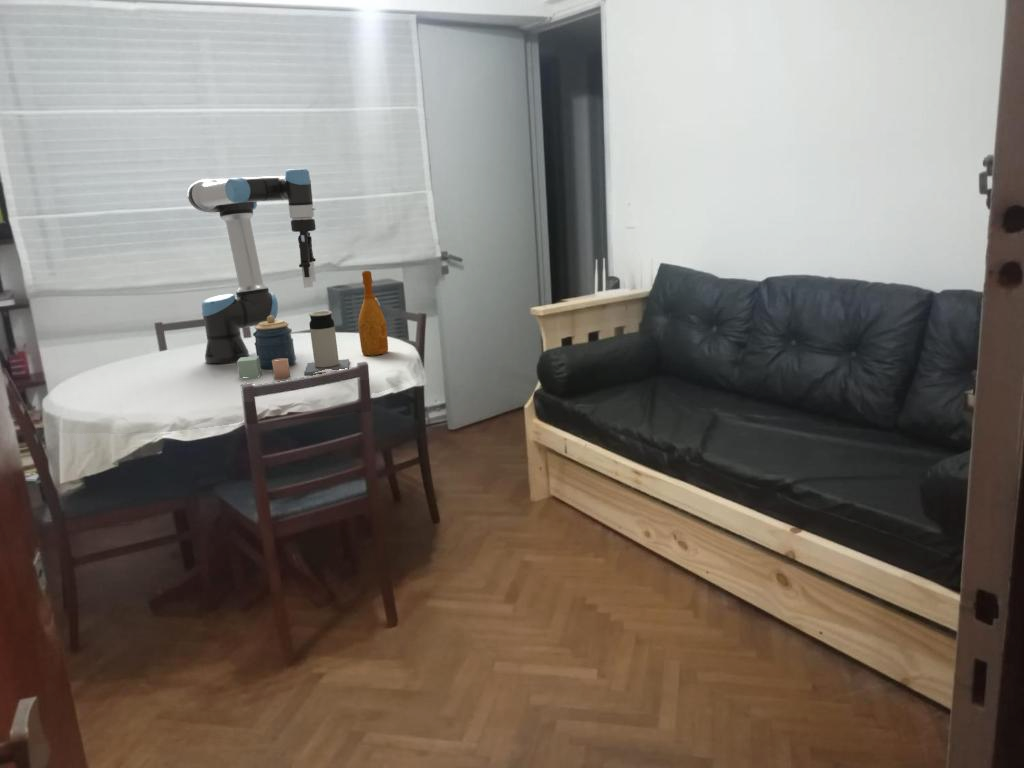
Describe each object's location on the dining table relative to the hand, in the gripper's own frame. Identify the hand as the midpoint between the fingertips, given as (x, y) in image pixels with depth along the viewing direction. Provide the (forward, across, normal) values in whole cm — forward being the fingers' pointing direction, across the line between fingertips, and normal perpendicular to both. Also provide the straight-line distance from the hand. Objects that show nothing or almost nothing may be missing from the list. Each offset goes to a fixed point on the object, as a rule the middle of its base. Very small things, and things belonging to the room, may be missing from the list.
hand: (310, 284), depth 239 cm
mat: (+28, -3, -3) cm, 29 cm away
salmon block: (+28, -10, +11) cm, 32 cm away
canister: (+29, +10, +15) cm, 34 cm away
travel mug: (+27, -3, -3) cm, 28 cm away
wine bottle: (+28, +14, -19) cm, 37 cm away
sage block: (+29, -3, +22) cm, 36 cm away
